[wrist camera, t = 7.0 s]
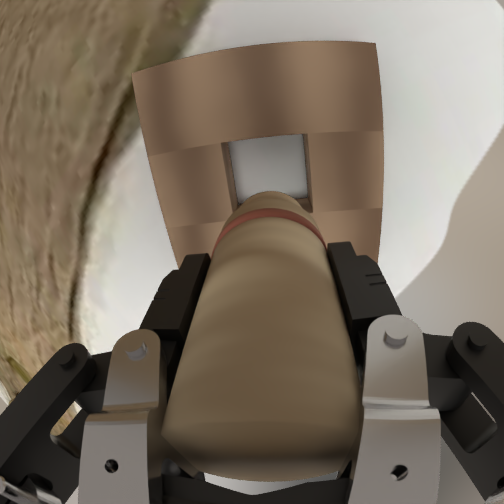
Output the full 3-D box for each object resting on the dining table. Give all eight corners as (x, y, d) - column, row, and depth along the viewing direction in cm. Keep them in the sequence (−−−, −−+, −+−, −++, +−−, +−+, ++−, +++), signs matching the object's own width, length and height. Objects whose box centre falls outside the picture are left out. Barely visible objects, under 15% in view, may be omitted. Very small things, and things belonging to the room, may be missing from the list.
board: (194, 272, 27) (186, 292, 24) (148, 74, 18) (131, 73, 15) (366, 258, 25) (375, 277, 22) (361, 48, 16) (375, 43, 13)
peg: (233, 266, 14) (193, 477, 6) (217, 186, 12) (115, 406, 4) (317, 259, 14) (354, 474, 5) (314, 177, 12) (400, 403, 3)
